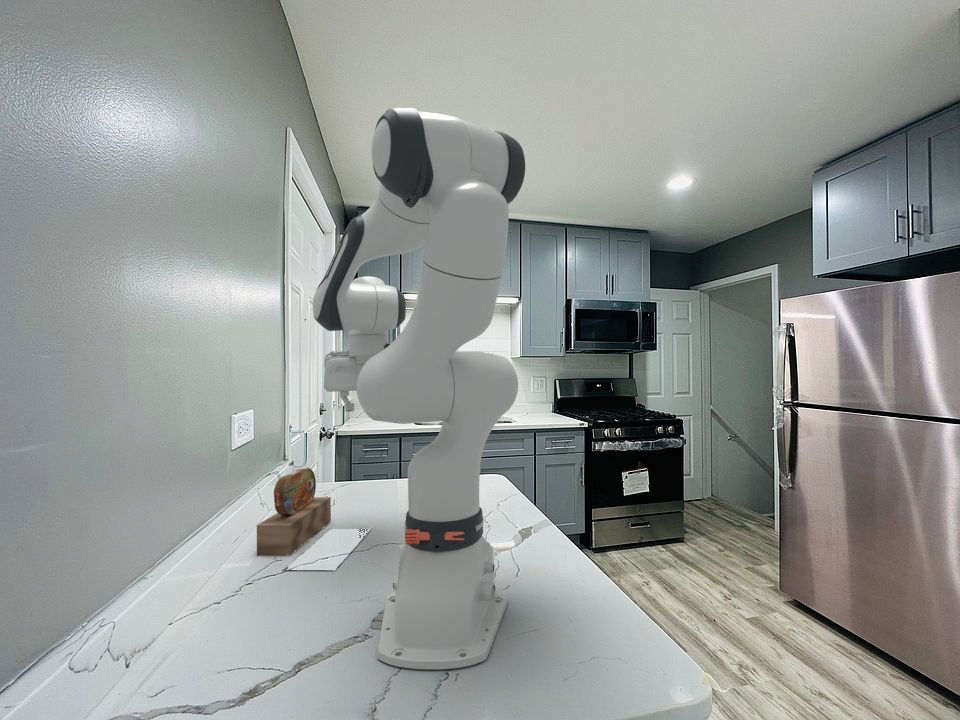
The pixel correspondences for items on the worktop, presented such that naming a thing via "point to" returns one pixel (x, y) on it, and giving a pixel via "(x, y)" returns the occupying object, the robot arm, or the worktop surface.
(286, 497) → the tin
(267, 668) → the worktop surface
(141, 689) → the worktop surface
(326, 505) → the block
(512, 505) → the worktop surface
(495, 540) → the worktop surface
